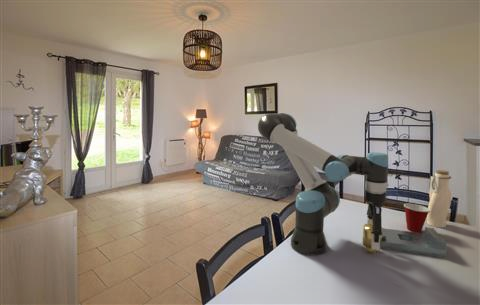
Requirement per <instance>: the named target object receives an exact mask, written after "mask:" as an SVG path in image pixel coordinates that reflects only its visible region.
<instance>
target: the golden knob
mask: <svg viewBox="0 0 480 305" xmlns="http://www.w3.org/2000/svg"><path fill="white" fill-rule="evenodd" d="M371 232H373V224H367V223H365V224H363V230H362V242H361V243H362V246H363V247H364V248H365V252H367V253H369V254H377V251H378V250H376V249H371V245H372V234H371ZM381 238H382V235H380V248H379V250H381V249H382V248H381Z"/></svg>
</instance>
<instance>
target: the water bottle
mask: <svg viewBox="0 0 480 305" xmlns="http://www.w3.org/2000/svg"><path fill="white" fill-rule="evenodd" d="M450 179H452V177H451V176H450V172H449V171H448V170H443V169H437V170H435V173H434V174H433V176H430V181H429V182H430V183H429V184H430V185H429V189H428V190H429V193H428V194H429V203H428V207H427V208H429V209H430V212H429V213H428V215H427V217H426V223H427V225H430V226H432V227H436V228H446V227H447V217H448V213H449V210H450V207H451V202H452V192H451V189H450V187H449V185H450Z"/></svg>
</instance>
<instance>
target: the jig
mask: <svg viewBox="0 0 480 305" xmlns="http://www.w3.org/2000/svg"><path fill="white" fill-rule="evenodd" d="M380 249H386V250H391V251H399V252H406V253H413V254H419V255H420V254H421V255H425V256H427V255H428V256H434V257H439V258H440V257H441V258H446V253H447V242H446V241H445V240H444V238H443V237H442V236H441V234H439V233H438V232H437V231H436V230H435V229H434V227H427V226H425V227H424V233H423V232H412V231H410V230H408V231H407V230H399V229H393V228H384V227H382V238H381V248H380Z"/></svg>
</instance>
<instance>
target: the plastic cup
mask: <svg viewBox="0 0 480 305" xmlns="http://www.w3.org/2000/svg"><path fill="white" fill-rule="evenodd" d="M403 208H404V212H405V222H406V229H407V230H408V231H409V232H417V233H422V230H423V227H424V225H425V222H426V221H427V215H428V213H429V212H430V209H429V208H428V207H426V206H424V205H421V204H414V203H404V204H403Z"/></svg>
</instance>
